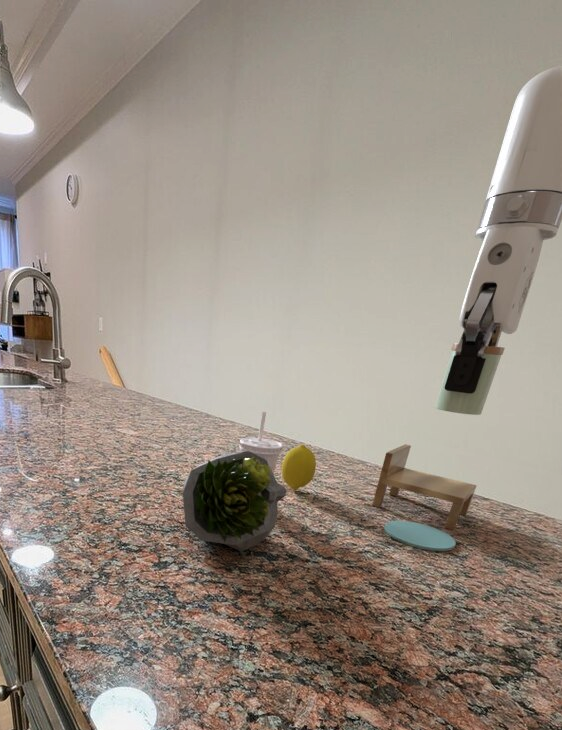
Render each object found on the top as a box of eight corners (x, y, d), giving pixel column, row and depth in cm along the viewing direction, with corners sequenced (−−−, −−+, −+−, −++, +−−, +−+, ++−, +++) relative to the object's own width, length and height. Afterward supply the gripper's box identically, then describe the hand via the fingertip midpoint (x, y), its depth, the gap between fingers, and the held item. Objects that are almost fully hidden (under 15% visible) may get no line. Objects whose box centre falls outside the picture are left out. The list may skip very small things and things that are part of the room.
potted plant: (291, 503, 61) (329, 517, 46) (215, 558, 62) (227, 589, 47) (240, 431, 60) (261, 421, 45) (163, 487, 60) (158, 496, 46)
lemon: (290, 482, 81) (299, 439, 78) (317, 492, 77) (326, 447, 74) (271, 487, 77) (279, 442, 74) (297, 497, 74) (307, 450, 70)
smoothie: (259, 495, 73) (273, 409, 68) (280, 510, 68) (298, 417, 62) (224, 497, 71) (236, 408, 65) (243, 512, 65) (258, 417, 60)
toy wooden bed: (466, 514, 73) (485, 461, 70) (453, 530, 66) (473, 472, 62) (391, 493, 80) (405, 444, 77) (371, 505, 73) (386, 452, 70)
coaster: (461, 538, 63) (462, 535, 63) (446, 557, 57) (447, 555, 57) (395, 518, 69) (396, 515, 68) (375, 534, 62) (376, 531, 62)
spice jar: (485, 413, 57) (507, 348, 54) (477, 416, 53) (501, 347, 50) (439, 405, 60) (458, 344, 57) (428, 408, 56) (448, 342, 53)
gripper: (557, 196, 40) (487, 399, 47) (565, 235, 53) (508, 392, 60) (464, 204, 45) (412, 388, 52) (491, 238, 57) (446, 384, 64)
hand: (464, 389), depth 56 cm, fingers closed on spice jar, 5 cm apart
